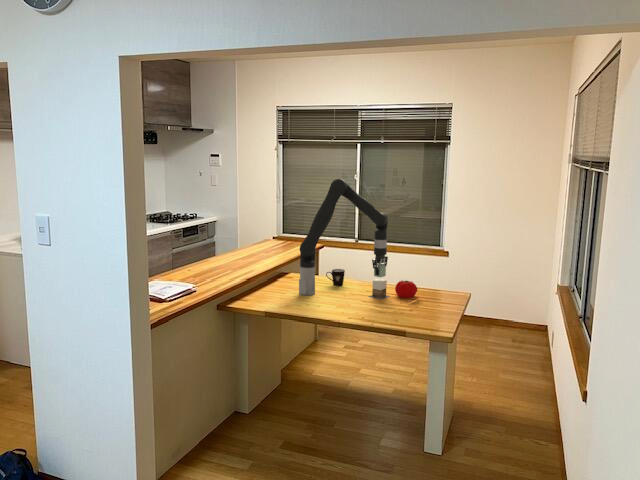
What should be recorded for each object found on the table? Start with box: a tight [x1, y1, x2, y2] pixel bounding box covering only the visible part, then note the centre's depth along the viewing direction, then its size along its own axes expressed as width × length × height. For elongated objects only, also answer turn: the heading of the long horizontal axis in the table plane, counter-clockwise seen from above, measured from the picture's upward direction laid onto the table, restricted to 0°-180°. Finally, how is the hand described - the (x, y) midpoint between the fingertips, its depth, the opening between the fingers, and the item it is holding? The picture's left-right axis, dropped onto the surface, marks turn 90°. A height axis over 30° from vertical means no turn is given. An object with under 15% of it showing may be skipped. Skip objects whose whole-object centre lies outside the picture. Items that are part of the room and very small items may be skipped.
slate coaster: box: [367, 294, 391, 300], centre depth 321 cm, size 10×10×1 cm
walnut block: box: [371, 288, 387, 298], centre depth 321 cm, size 6×6×5 cm
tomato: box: [394, 279, 418, 299], centre depth 321 cm, size 13×12×11 cm
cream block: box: [372, 278, 388, 290], centre depth 320 cm, size 6×6×5 cm
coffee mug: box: [325, 268, 346, 287], centre depth 351 cm, size 12×9×10 cm
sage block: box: [373, 265, 387, 278], centre depth 319 cm, size 5×5×6 cm
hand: (379, 274), depth 319 cm, fingers closed on sage block, 5 cm apart
